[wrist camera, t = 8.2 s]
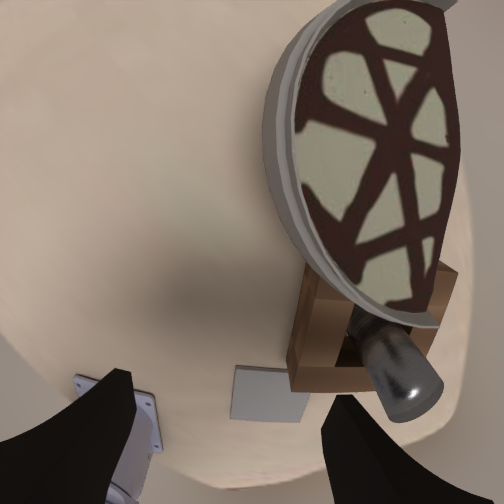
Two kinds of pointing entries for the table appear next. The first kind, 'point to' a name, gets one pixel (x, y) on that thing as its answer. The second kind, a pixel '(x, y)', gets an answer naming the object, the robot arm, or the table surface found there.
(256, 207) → the table surface
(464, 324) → the table surface
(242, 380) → the mat
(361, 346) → the peg
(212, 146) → the table surface
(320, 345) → the hole block
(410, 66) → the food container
